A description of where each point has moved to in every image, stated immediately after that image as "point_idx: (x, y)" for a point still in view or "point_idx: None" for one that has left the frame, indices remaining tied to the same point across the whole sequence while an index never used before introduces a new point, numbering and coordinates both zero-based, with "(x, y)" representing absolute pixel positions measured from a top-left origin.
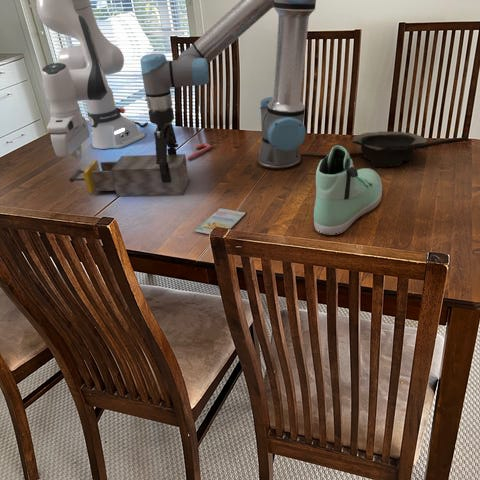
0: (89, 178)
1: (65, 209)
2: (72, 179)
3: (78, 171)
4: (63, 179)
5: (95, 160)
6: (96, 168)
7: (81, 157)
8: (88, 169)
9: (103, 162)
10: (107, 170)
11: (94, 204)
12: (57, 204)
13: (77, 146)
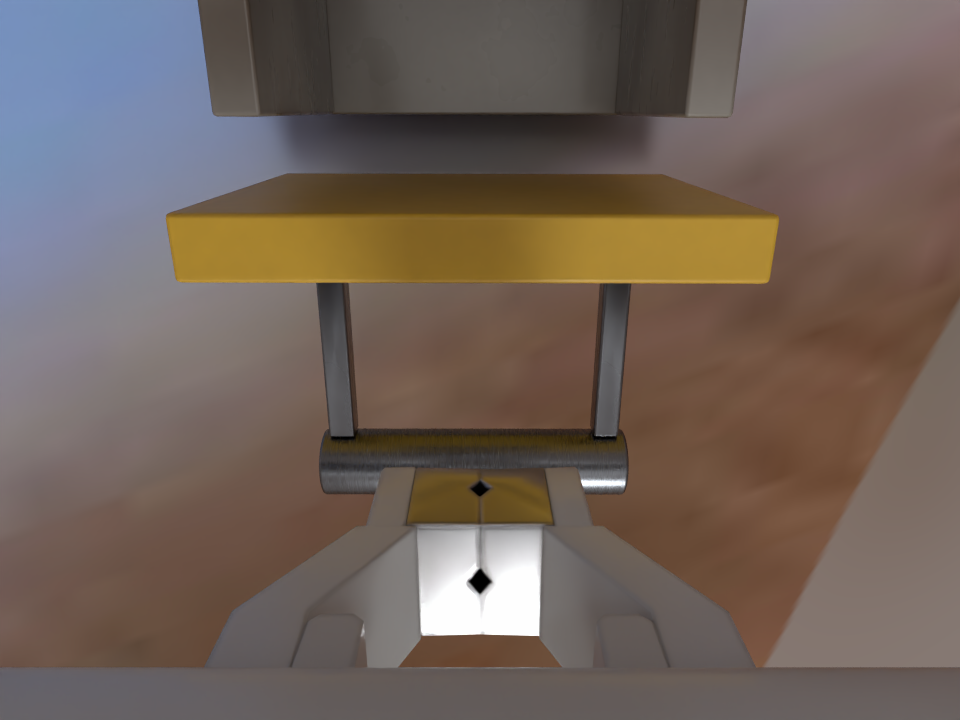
0: (678, 195)
1: (915, 356)
2: (624, 452)
3: (392, 460)
4: (224, 616)
5: (182, 248)
6: (325, 197)
7: (411, 474)
8: (634, 229)
9: (236, 44)
10: (292, 8)
11: (879, 66)
12: (780, 471)
13: (738, 711)
